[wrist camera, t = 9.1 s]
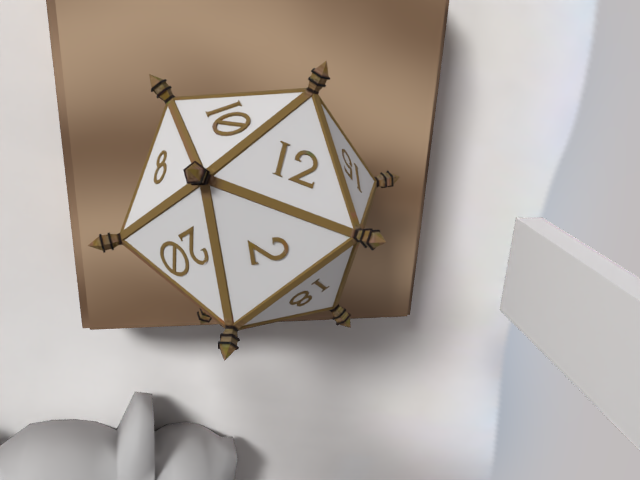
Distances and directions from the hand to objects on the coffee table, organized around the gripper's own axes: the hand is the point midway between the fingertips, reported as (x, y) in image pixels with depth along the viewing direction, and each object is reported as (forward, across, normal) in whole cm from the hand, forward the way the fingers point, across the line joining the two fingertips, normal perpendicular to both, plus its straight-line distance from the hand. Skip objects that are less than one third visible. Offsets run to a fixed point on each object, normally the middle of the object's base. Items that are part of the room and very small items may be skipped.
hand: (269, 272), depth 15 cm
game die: (+8, 0, 0) cm, 8 cm away
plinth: (+12, -1, -1) cm, 12 cm away
